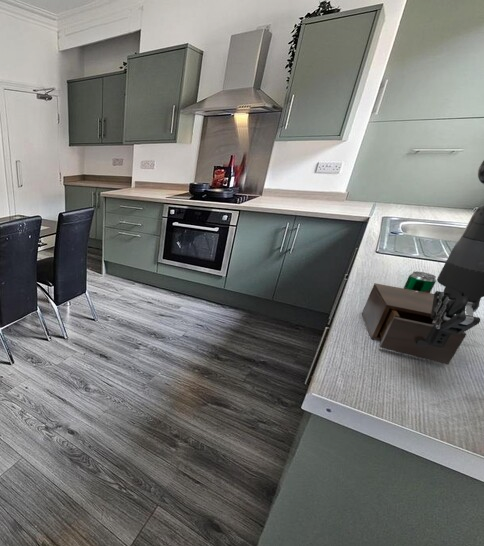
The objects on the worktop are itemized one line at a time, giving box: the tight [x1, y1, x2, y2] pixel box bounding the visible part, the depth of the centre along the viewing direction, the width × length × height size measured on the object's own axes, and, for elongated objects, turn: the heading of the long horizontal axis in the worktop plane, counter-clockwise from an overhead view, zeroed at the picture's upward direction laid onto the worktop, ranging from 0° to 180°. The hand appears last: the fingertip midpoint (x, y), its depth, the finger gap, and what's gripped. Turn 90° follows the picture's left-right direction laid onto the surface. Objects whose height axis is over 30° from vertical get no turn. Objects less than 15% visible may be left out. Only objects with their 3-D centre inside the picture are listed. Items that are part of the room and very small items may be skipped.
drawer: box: [379, 309, 467, 366], centre depth 72 cm, size 15×11×8 cm
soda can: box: [403, 271, 437, 293], centre depth 85 cm, size 5×5×12 cm
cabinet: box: [361, 282, 434, 342], centre depth 77 cm, size 15×12×10 cm
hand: (433, 344), depth 62 cm, fingers closed
